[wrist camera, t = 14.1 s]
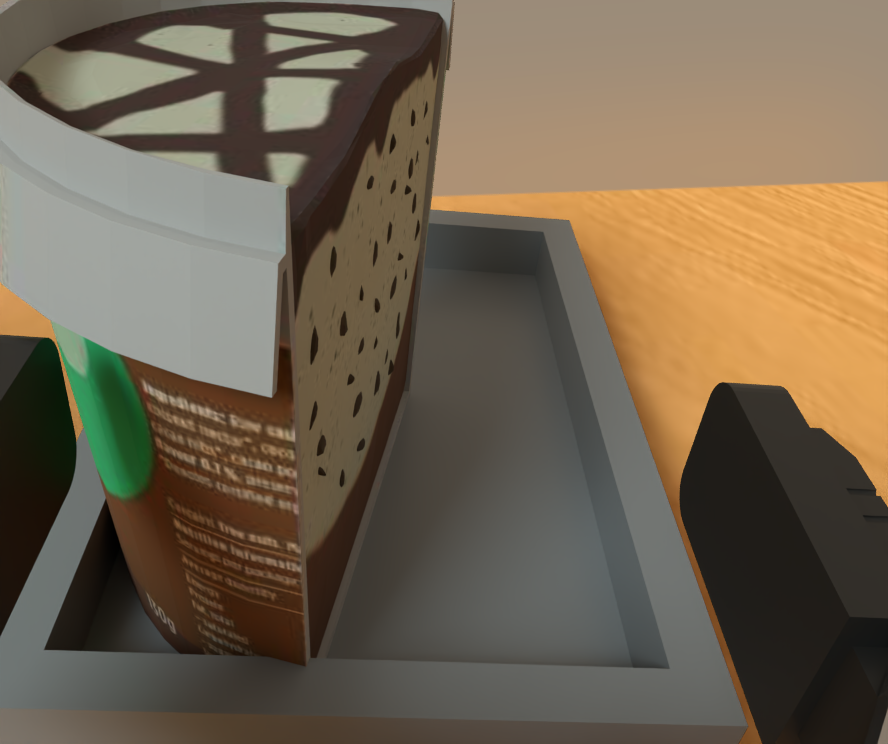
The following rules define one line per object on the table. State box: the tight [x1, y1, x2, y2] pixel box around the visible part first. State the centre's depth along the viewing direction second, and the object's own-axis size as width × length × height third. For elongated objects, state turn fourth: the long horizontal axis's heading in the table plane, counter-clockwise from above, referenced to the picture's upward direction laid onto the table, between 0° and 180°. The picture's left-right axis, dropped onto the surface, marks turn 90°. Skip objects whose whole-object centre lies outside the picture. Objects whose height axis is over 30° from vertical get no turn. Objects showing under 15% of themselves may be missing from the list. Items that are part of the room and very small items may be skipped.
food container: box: [0, 0, 455, 667], centre depth 15 cm, size 12×6×10 cm, turn 171°
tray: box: [0, 210, 748, 744], centre depth 21 cm, size 12×18×2 cm, turn 2°
